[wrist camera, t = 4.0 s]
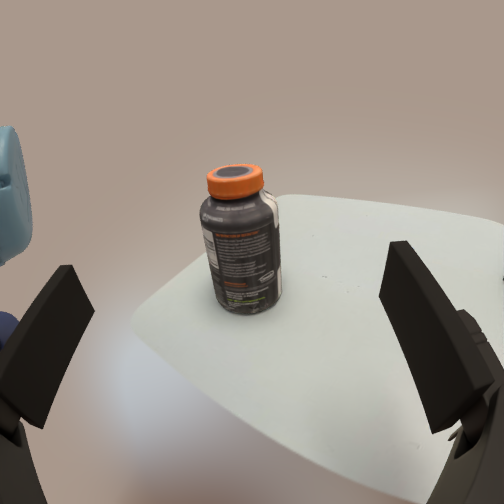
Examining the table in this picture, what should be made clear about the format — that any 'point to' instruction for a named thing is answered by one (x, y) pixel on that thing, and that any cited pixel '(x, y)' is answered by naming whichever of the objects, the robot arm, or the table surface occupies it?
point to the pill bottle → (242, 238)
